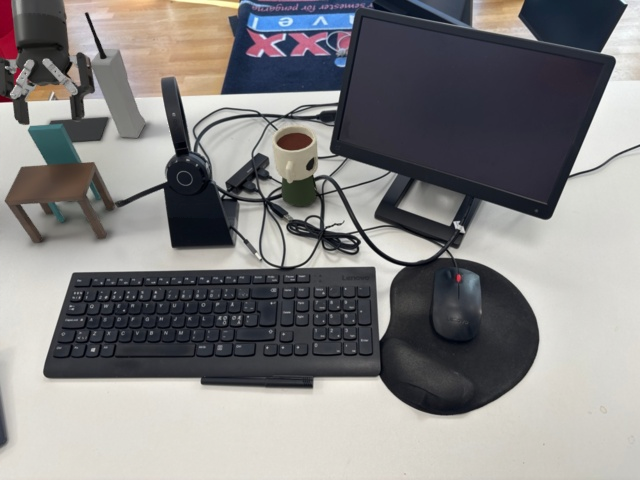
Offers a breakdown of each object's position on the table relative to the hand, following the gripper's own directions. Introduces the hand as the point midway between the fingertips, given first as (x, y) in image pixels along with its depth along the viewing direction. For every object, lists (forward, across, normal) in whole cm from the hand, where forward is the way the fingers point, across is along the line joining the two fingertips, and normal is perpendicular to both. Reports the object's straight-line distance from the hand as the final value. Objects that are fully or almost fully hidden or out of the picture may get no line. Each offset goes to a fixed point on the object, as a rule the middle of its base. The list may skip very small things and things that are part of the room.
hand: (50, 122), depth 83 cm
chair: (+14, 0, +8) cm, 16 cm away
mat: (-2, -7, +24) cm, 25 cm away
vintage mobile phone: (-1, +5, +23) cm, 24 cm away
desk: (+16, 0, +5) cm, 17 cm away
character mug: (+15, +39, +7) cm, 42 cm away
